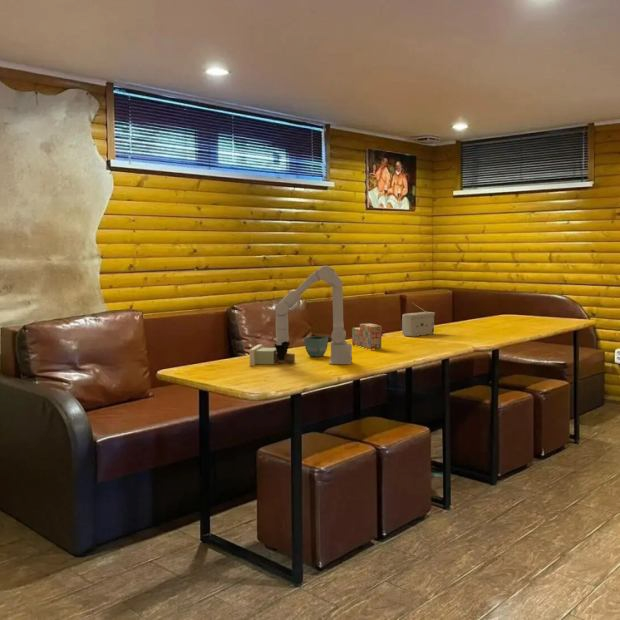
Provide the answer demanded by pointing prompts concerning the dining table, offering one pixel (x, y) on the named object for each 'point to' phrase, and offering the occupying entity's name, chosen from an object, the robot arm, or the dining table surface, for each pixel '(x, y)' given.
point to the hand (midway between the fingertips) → (282, 358)
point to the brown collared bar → (288, 358)
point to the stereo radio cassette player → (418, 323)
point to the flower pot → (316, 345)
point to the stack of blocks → (367, 336)
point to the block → (265, 355)
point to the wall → (254, 354)
